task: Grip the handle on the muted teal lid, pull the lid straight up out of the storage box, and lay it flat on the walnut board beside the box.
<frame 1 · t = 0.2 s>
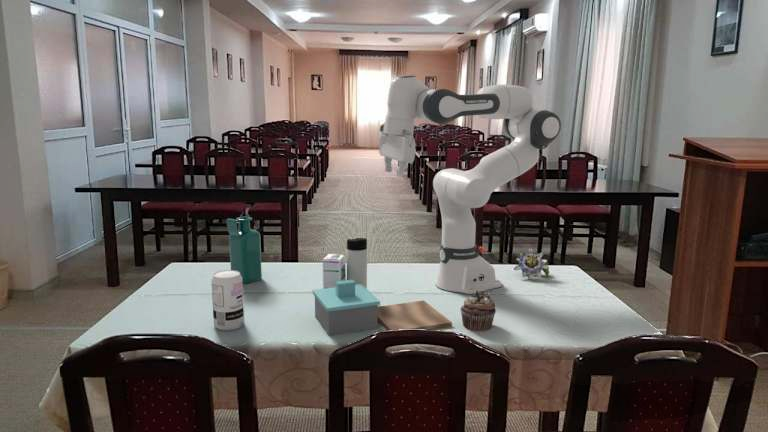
hand: (393, 174, 178), 39 cm above the table, tool pointing down, fingers open, 8 cm apart
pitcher: (245, 280, 198), on the table
storage box: (345, 322, 163), on the table
passion flower: (530, 276, 206), on the table
travel mug: (357, 299, 181), on the table
cupcake: (477, 326, 162), on the table
lid: (345, 302, 162), point 6 cm above the table, touching storage box
syrup box: (334, 301, 180), on the table
walnut board: (409, 318, 166), on the table
supplement can: (229, 326, 160), on the table
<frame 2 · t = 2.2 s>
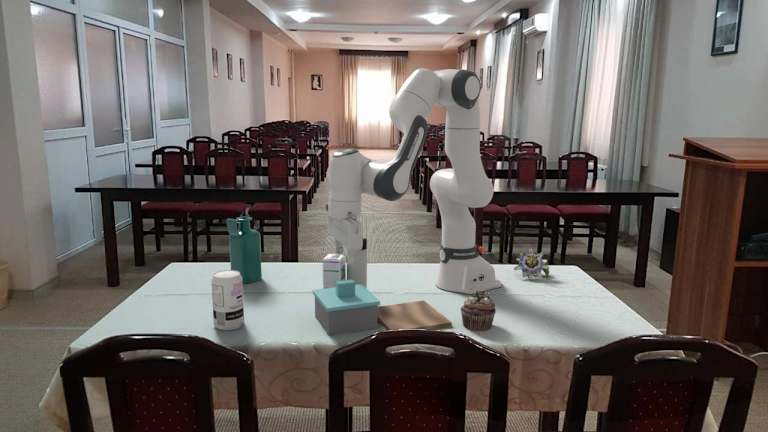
hand: (344, 258, 159), 19 cm above the table, tool pointing down, fingers open, 8 cm apart
nothing on the table moved.
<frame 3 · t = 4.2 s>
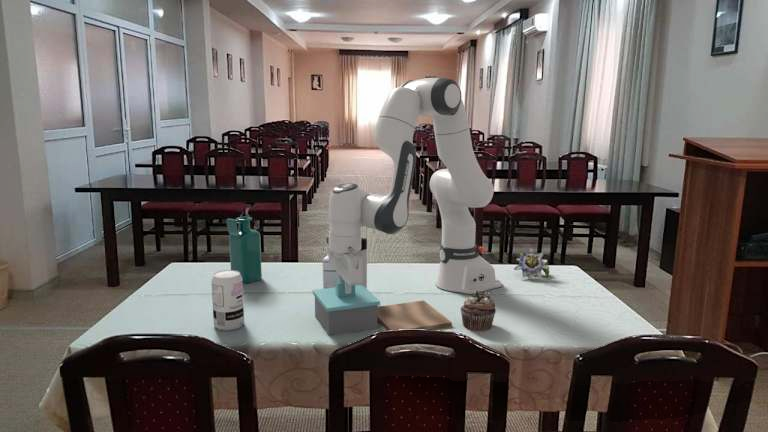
hand: (345, 290, 161), 9 cm above the table, tool pointing down, fingers closed on lid, 2 cm apart
lid: (345, 302, 162), point 6 cm above the table, touching gripper, storage box
everything else where it was.
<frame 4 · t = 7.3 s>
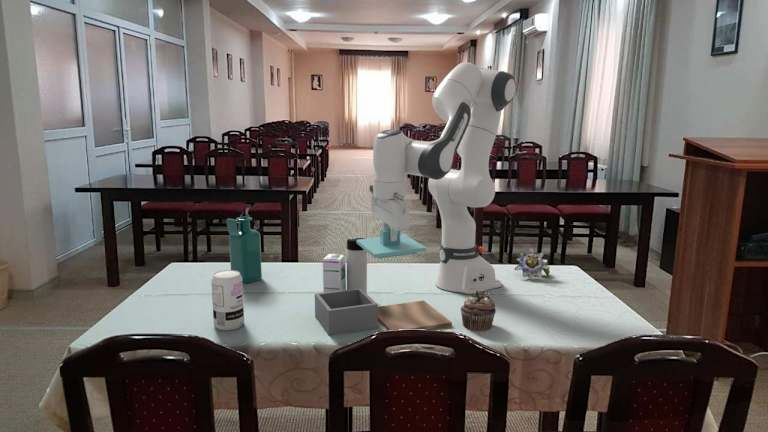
hand: (390, 238, 161), 24 cm above the table, tool pointing down, fingers closed on lid, 2 cm apart
lid: (390, 250, 161), point 21 cm above the table, touching gripper
everything else where it was.
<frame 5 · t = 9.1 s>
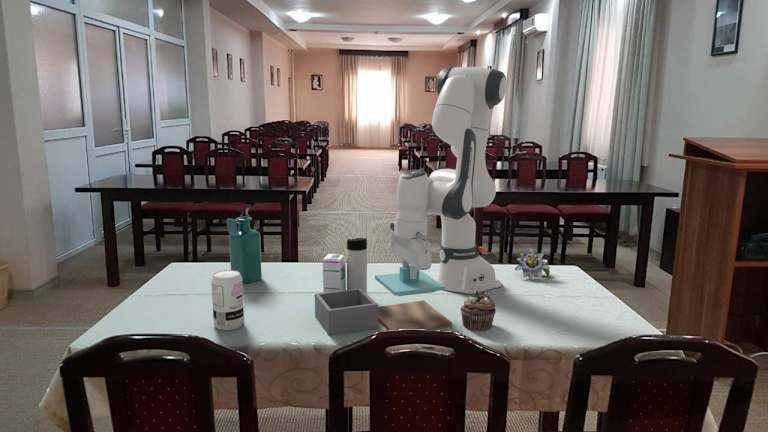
hand: (409, 276, 163), 13 cm above the table, tool pointing down, fingers closed on lid, 2 cm apart
lid: (408, 287, 164), point 10 cm above the table, touching gripper
everything else where it was.
when the fingers open (6 cm above the table, at t = 10.5 s): lid drops 2 cm, resting on walnut board.
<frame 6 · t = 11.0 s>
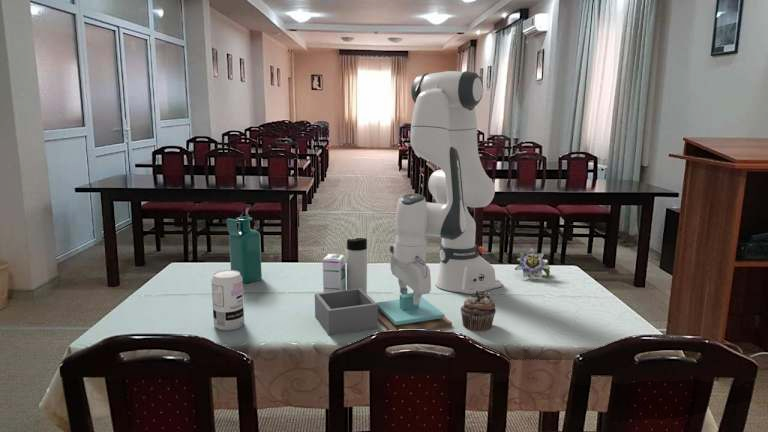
hand: (409, 298, 165), 6 cm above the table, tool pointing down, fingers open, 7 cm apart
lid: (409, 314, 166), point 1 cm above the table, touching walnut board
everything else where it was.
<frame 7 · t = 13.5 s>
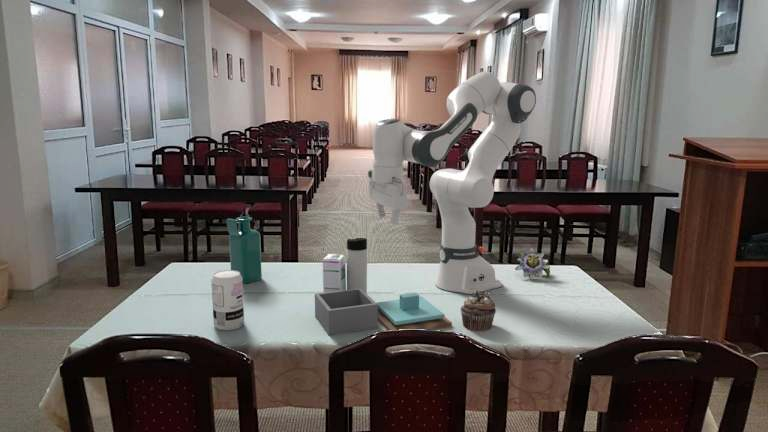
hand: (387, 220, 174), 26 cm above the table, tool pointing down, fingers open, 8 cm apart
nothing on the table moved.
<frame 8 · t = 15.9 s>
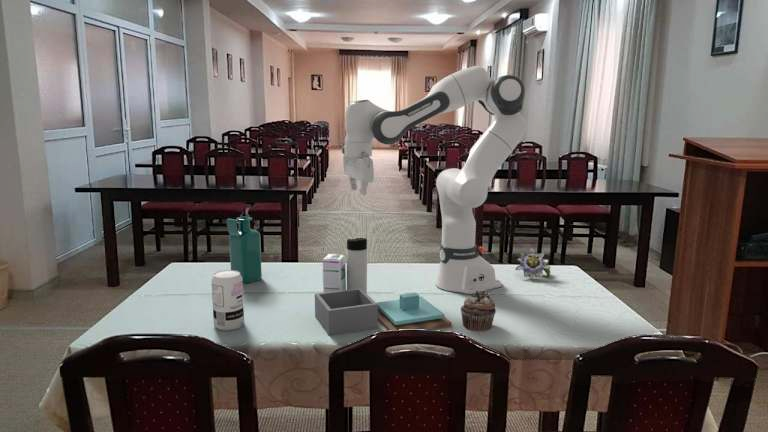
hand: (358, 192, 191), 31 cm above the table, tool pointing down, fingers open, 8 cm apart
nothing on the table moved.
at the end: lid inside the target area on the walnut board (0.0 cm from its centre), point 1.2 cm above the walnut board's base; lid tilted 0°; the gripper is holding nothing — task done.
